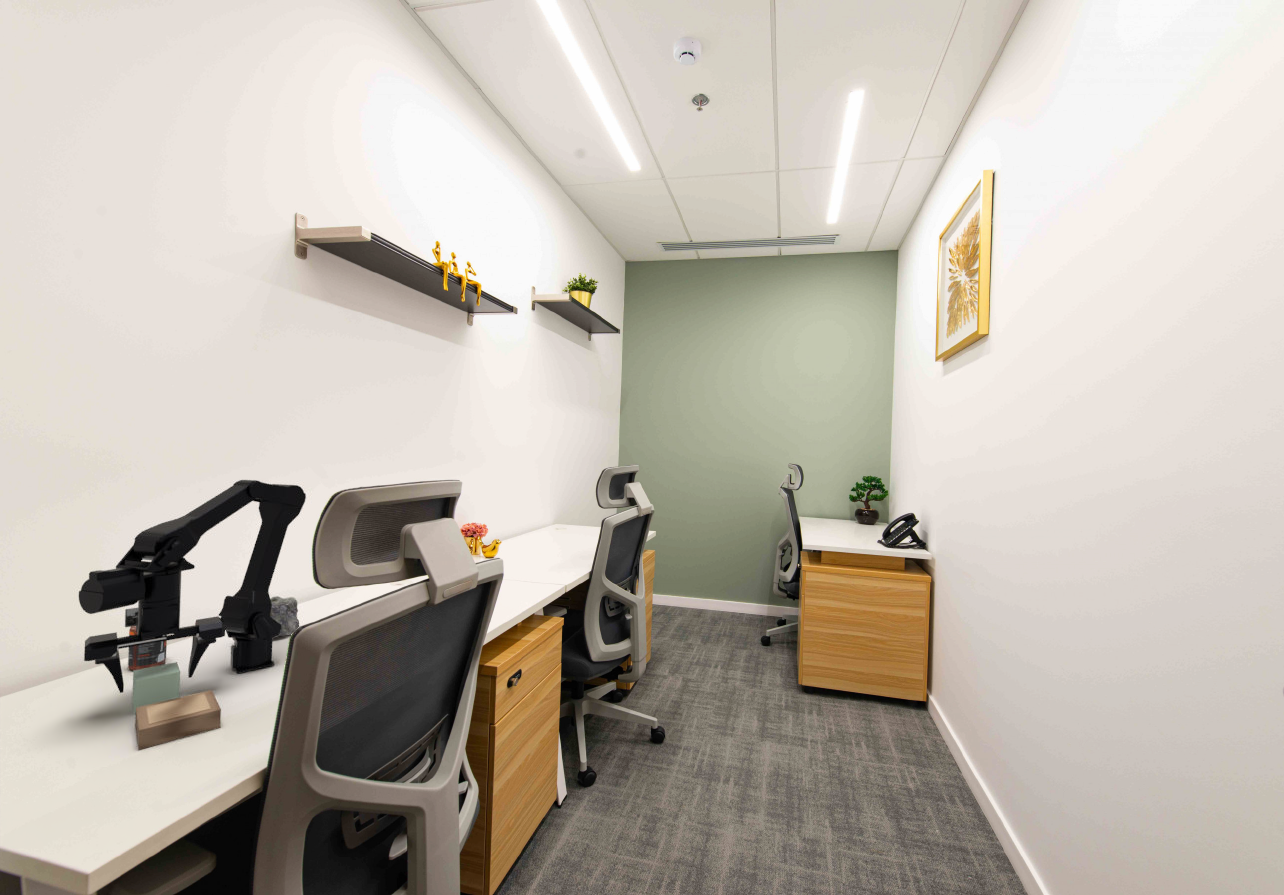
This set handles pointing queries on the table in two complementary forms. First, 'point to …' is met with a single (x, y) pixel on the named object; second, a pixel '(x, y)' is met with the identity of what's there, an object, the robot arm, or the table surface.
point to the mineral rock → (284, 614)
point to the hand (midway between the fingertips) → (156, 684)
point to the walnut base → (176, 718)
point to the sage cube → (155, 685)
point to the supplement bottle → (146, 653)
